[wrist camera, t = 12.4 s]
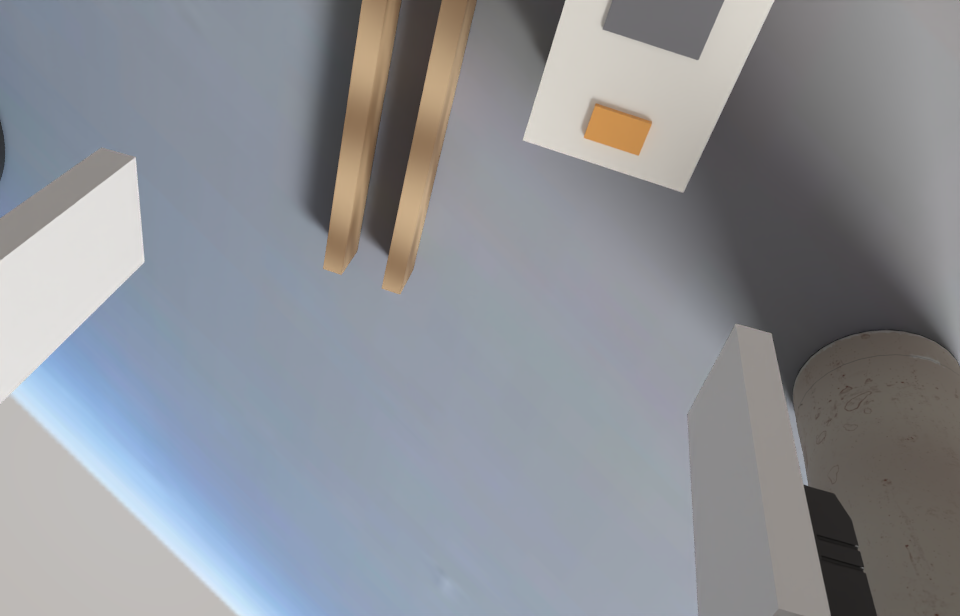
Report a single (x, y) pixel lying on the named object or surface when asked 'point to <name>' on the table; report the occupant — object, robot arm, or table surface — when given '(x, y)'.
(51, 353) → the robot arm
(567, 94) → the power strip
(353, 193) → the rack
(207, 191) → the table surface
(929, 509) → the thermos bottle
